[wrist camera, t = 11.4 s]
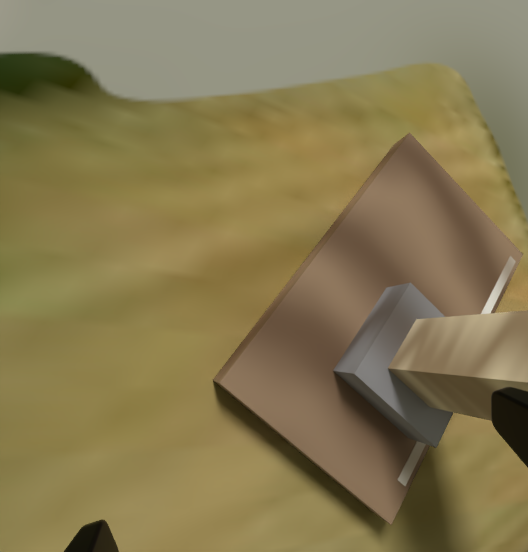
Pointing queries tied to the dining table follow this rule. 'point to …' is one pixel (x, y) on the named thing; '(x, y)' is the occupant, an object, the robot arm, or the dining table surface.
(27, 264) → the dining table surface
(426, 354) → the wooden post with base
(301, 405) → the plank
